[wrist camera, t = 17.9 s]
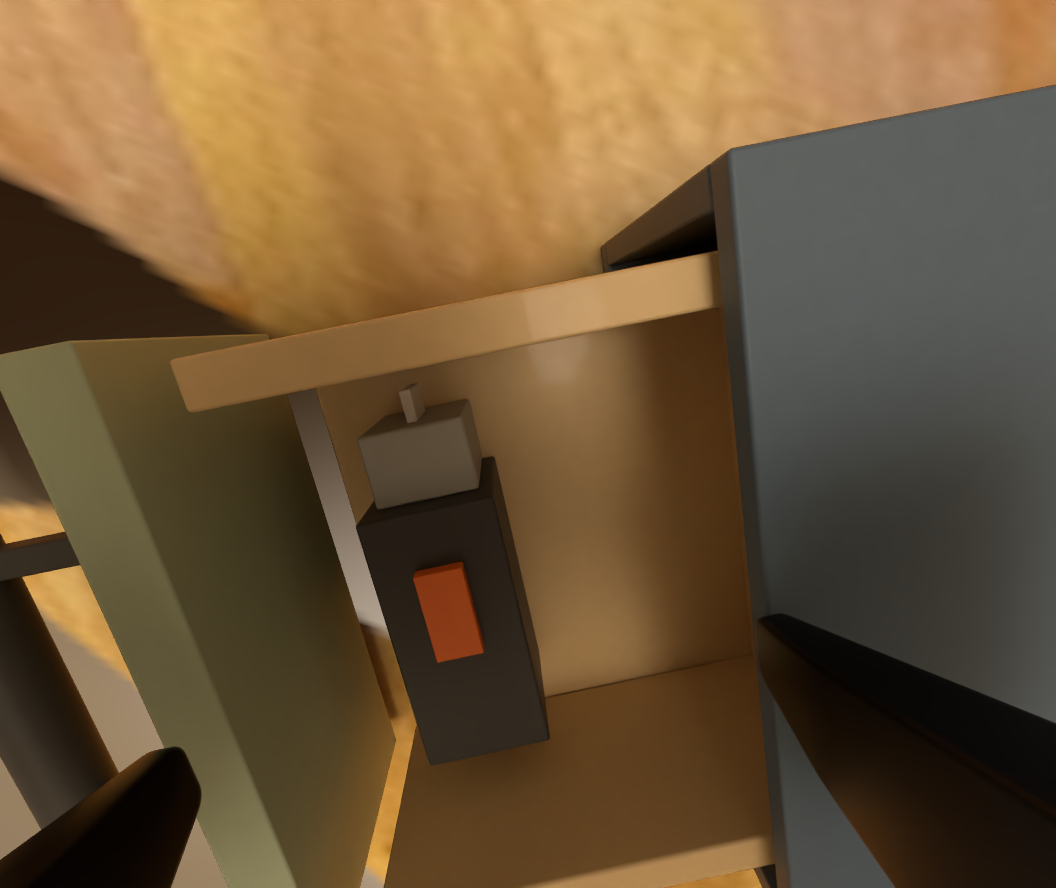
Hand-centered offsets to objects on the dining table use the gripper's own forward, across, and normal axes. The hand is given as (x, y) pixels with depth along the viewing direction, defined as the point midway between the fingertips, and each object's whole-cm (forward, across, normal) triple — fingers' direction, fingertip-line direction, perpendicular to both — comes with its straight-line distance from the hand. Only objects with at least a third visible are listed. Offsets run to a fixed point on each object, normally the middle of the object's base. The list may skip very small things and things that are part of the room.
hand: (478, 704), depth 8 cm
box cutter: (+6, +1, 0) cm, 6 cm away
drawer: (+7, +1, 0) cm, 7 cm away
